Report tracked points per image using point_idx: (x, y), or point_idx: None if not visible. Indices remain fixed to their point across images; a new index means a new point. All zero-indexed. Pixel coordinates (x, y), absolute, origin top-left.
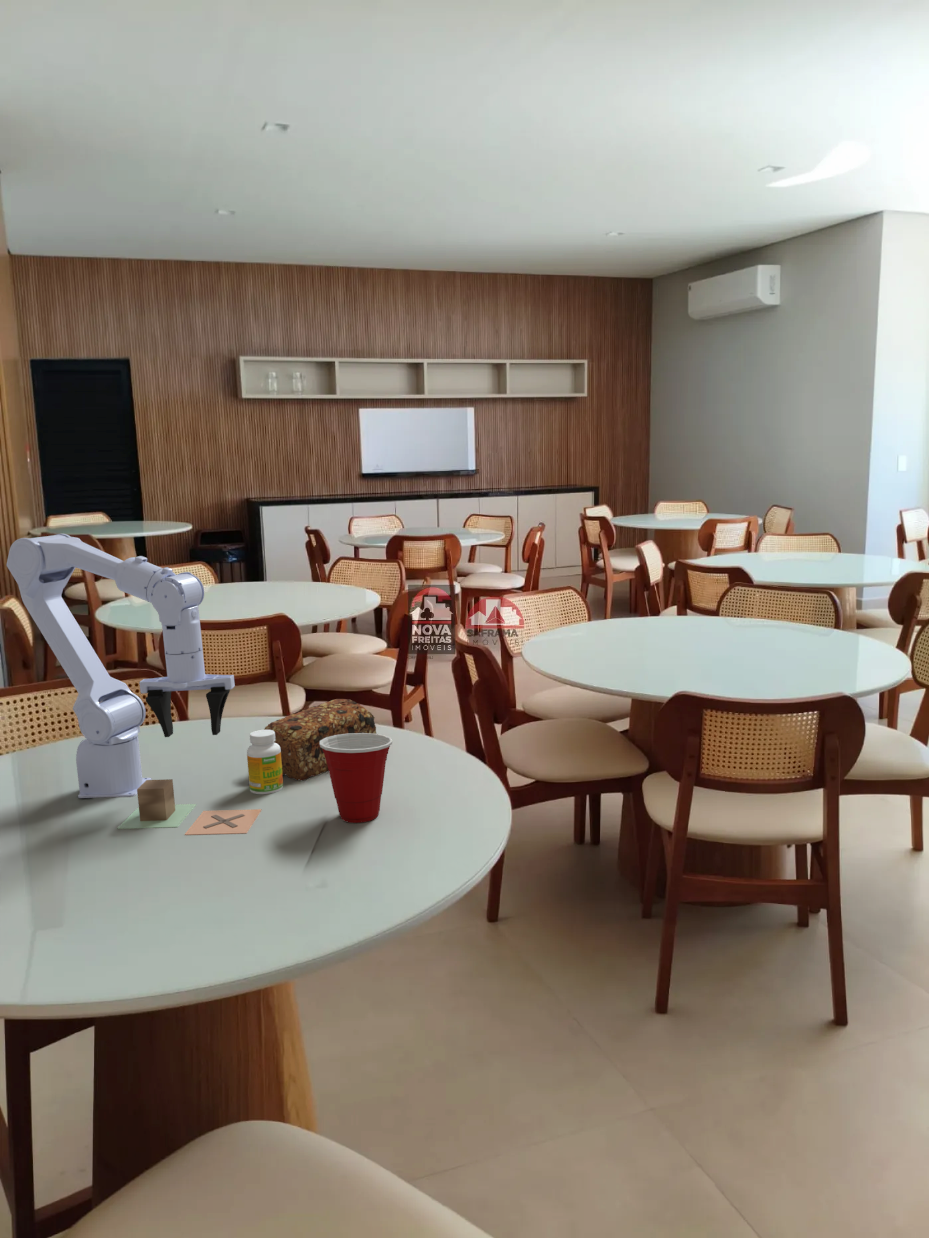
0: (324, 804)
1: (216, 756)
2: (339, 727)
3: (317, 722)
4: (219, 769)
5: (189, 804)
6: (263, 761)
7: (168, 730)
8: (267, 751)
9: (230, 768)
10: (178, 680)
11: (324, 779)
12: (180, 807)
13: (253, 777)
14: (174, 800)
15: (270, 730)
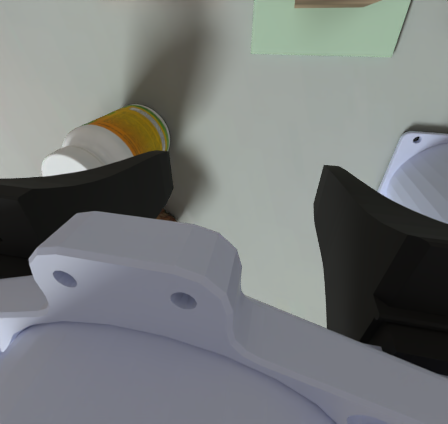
0: (10, 39)
1: (269, 287)
2: None
3: None
4: (253, 241)
5: (266, 51)
6: (91, 122)
7: (326, 179)
8: (70, 135)
9: (236, 241)
10: (156, 373)
11: None
12: (284, 30)
13: (137, 117)
14: (294, 5)
15: None
